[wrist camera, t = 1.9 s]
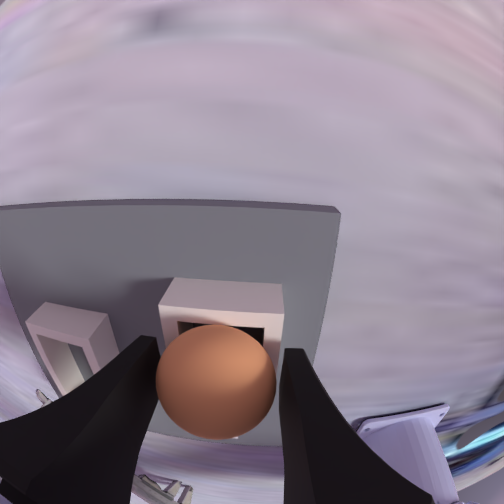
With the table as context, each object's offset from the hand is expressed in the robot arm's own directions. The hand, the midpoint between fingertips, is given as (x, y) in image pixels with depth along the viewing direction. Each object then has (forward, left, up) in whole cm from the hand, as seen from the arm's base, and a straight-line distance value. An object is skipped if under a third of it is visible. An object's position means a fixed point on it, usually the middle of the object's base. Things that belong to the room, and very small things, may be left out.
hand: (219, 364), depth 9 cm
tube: (0, 0, -2) cm, 2 cm away
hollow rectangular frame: (-5, +8, -2) cm, 10 cm away
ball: (0, 0, +1) cm, 1 cm away
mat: (-3, +5, -3) cm, 7 cm away
